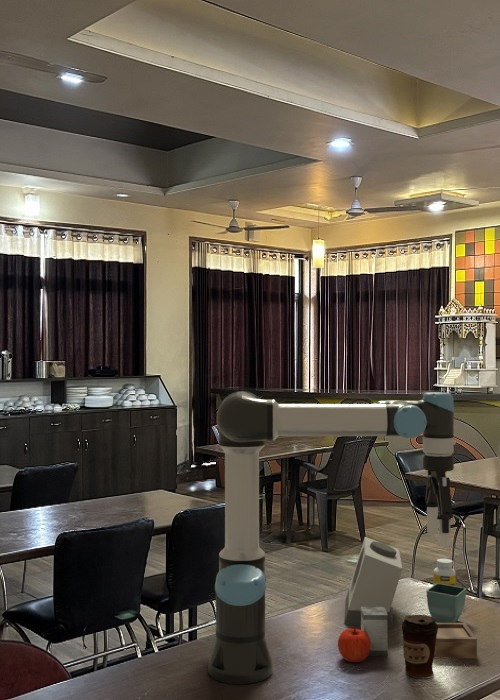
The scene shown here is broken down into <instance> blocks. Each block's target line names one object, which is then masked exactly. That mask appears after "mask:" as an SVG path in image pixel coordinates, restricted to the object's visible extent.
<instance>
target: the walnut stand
mask: <svg viewBox="0 0 500 700" xmlns="http://www.w3.org/2000/svg"><path fill="white" fill-rule="evenodd" d="M436 623H437V624H438V633H437V637H436V651H435V654H436V655H435V657H434V659H478V650H477V649H478V642H477V641H478V638H477V637H476V635H475V634H474V632H473V631H472V630H471V629H470V627H469V625H468V624H467V623H466V622H455V623H439V622H436Z"/></svg>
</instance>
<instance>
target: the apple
mask: <svg viewBox="0 0 500 700" xmlns="http://www.w3.org/2000/svg"><path fill="white" fill-rule="evenodd" d="M370 647H371V642H370V638H369V636H368V635H367V634H366V633H365V632H364V631H363V630H361V629H359V628H356V626H354V628H347V629H345V630H343V631H341V633H340V635H339V636H338V639H337V649H338V652H339V654H340V656H341V657H342V658H343V659H344V660H345V661H347V662H351V663H360V662H363V661H364V660H365V659H366V658H367V657H368V656H369V655H368V654H369V651H370Z"/></svg>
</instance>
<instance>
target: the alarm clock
mask: <svg viewBox="0 0 500 700" xmlns="http://www.w3.org/2000/svg"><path fill="white" fill-rule="evenodd" d="M402 564H403V563H402V559H401V553H400V549H399V548H396V547H394V546H391V545H389V544H386V543H383V542H381V541H378V540H375V539H372V538H369V537H367V536H364V539H363V541H362V546H361V548H360V552H359V554H358V558H357V562H356V563H355V568H354V571H353V573H352V574H353V575H352V577H351V581H350V585H349V588H348V589H347V594H346V597H345V601H344V602H345V604H344V607H345V608H344V618H343V619H344V621H343V624H344V625H360V626H361V607H384V608H385V610H386V612H387V614H388V620H387V627H394V618H393V612H392V611H393V610H392V604H393V601H394V598H395V594H396V591H397V587H398V585H399V581H400V577H401V574H402V572H403V565H402Z"/></svg>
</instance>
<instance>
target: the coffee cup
mask: <svg viewBox="0 0 500 700" xmlns="http://www.w3.org/2000/svg"><path fill="white" fill-rule="evenodd" d="M435 621H436V619H435V618H433V617H431V615H428V614H407V615H405V616H404V619H403V620H402V622H401V630H402V648H403V651H402V653H403V658H404V664H405V665H404V666H405V669H404V671H405V673H406V675H408V676H410V677H412V678H418V679H428V678H429V679H430V678H433V676H434V675H435V674H434V671H433V664H434V659H435V658H434V657H435V655H436V654H435V651H436V637H437V633H438V624H437V623H438V622H435Z"/></svg>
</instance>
